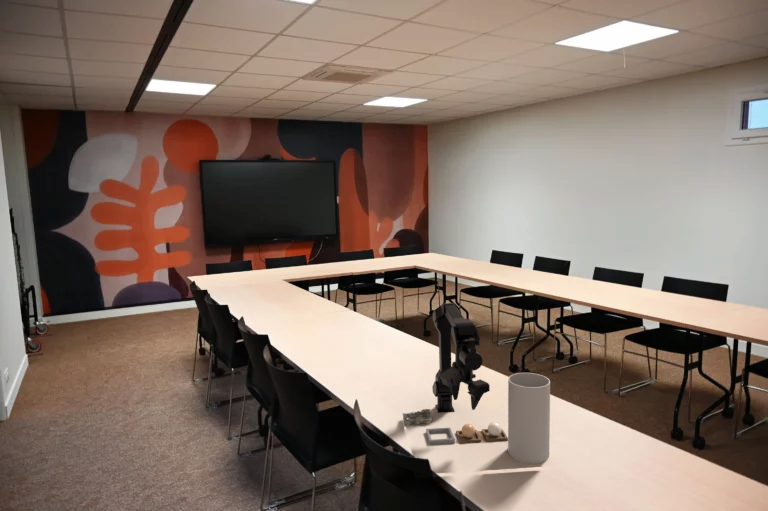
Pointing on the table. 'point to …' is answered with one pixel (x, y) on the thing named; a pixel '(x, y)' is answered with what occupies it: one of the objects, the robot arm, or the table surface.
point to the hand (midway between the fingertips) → (464, 404)
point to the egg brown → (468, 430)
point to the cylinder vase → (528, 417)
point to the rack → (481, 437)
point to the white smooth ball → (494, 429)
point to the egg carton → (420, 414)
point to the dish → (440, 441)
